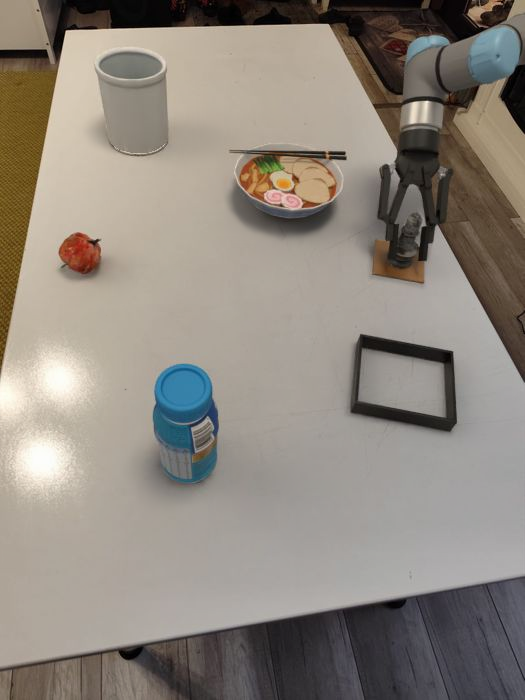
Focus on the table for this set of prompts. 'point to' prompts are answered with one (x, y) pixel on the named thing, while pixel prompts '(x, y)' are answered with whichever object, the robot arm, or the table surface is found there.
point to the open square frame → (400, 414)
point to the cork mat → (386, 270)
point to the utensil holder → (134, 98)
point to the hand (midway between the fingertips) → (407, 259)
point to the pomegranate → (80, 253)
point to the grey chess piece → (407, 242)
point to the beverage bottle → (186, 423)
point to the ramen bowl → (289, 178)
